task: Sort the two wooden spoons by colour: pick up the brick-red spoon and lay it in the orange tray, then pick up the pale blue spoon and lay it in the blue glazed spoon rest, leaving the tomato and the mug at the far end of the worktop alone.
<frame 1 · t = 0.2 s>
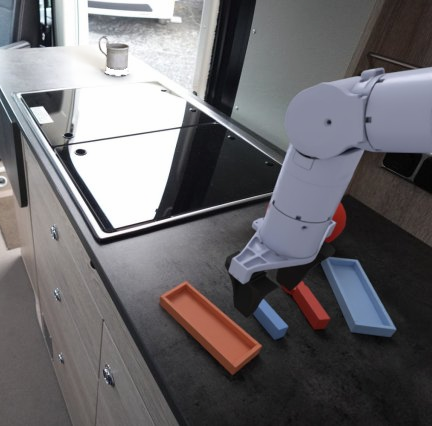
hand: (264, 297, 45), 9 cm above the worktop, tool pointing down, fingers open, 7 cm apart
tomato: (294, 238, 67), on the worktop
blue rest: (352, 296, 56), on the worktop
mug: (112, 71, 145), on the worktop
orange tray: (205, 327, 51), on the worktop
red spoon: (301, 302, 55), on the worktop
blue spoon: (256, 311, 54), on the worktop
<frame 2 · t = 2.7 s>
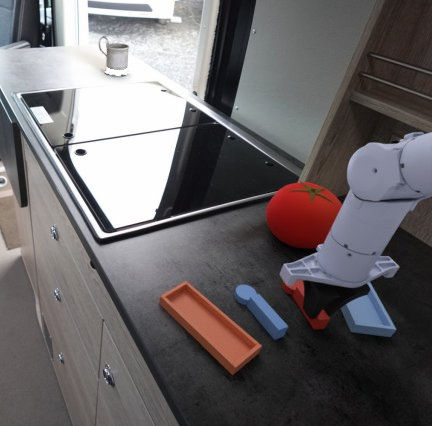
hand: (315, 312, 52), 1 cm above the worktop, tool pointing down, fingers closed on red spoon, 1 cm apart
red spoon: (301, 302, 55), on the worktop, touching gripper
everything else where it was.
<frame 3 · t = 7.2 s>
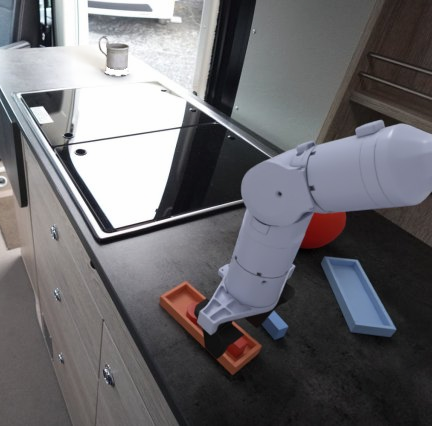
hand: (232, 336, 47), 3 cm above the worktop, tool pointing down, fingers open, 7 cm apart
red spoon: (211, 329, 50), resting on orange tray
everything else where it was.
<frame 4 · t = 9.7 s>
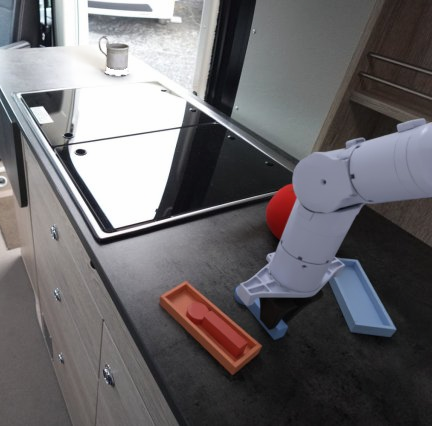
hand: (272, 321, 51), 1 cm above the worktop, tool pointing down, fingers closed on blue spoon, 1 cm apart
blue spoon: (255, 311, 54), on the worktop, touching gripper
everything else where it was.
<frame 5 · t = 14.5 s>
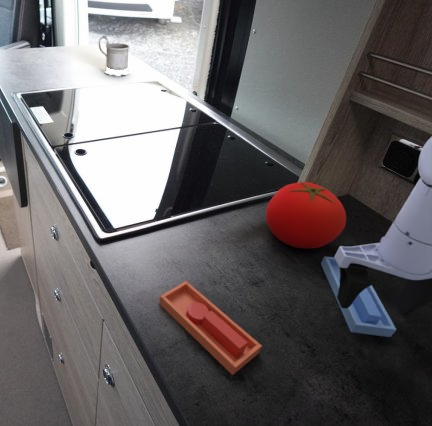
hand: (370, 306, 51), 3 cm above the worktop, tool pointing down, fingers open, 7 cm apart
blue spoon: (355, 299, 55), resting on blue rest
everything else where it was.
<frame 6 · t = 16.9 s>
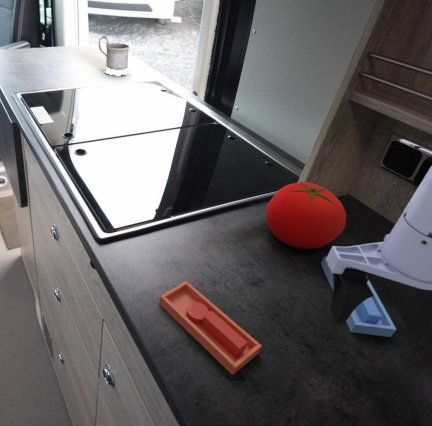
hand: (371, 320, 41), 9 cm above the worktop, tool pointing down, fingers open, 7 cm apart
nothing on the worktop moved.
at the end: red spoon 0.9 cm off-centre in the orange tray, point 0.5 cm above the orange tray's base; blue spoon inside the target area in the blue rest (0.9 cm from its centre), point 0.5 cm above the blue rest's base; blue spoon 118.5 cm from the mug (horizontally) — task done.
